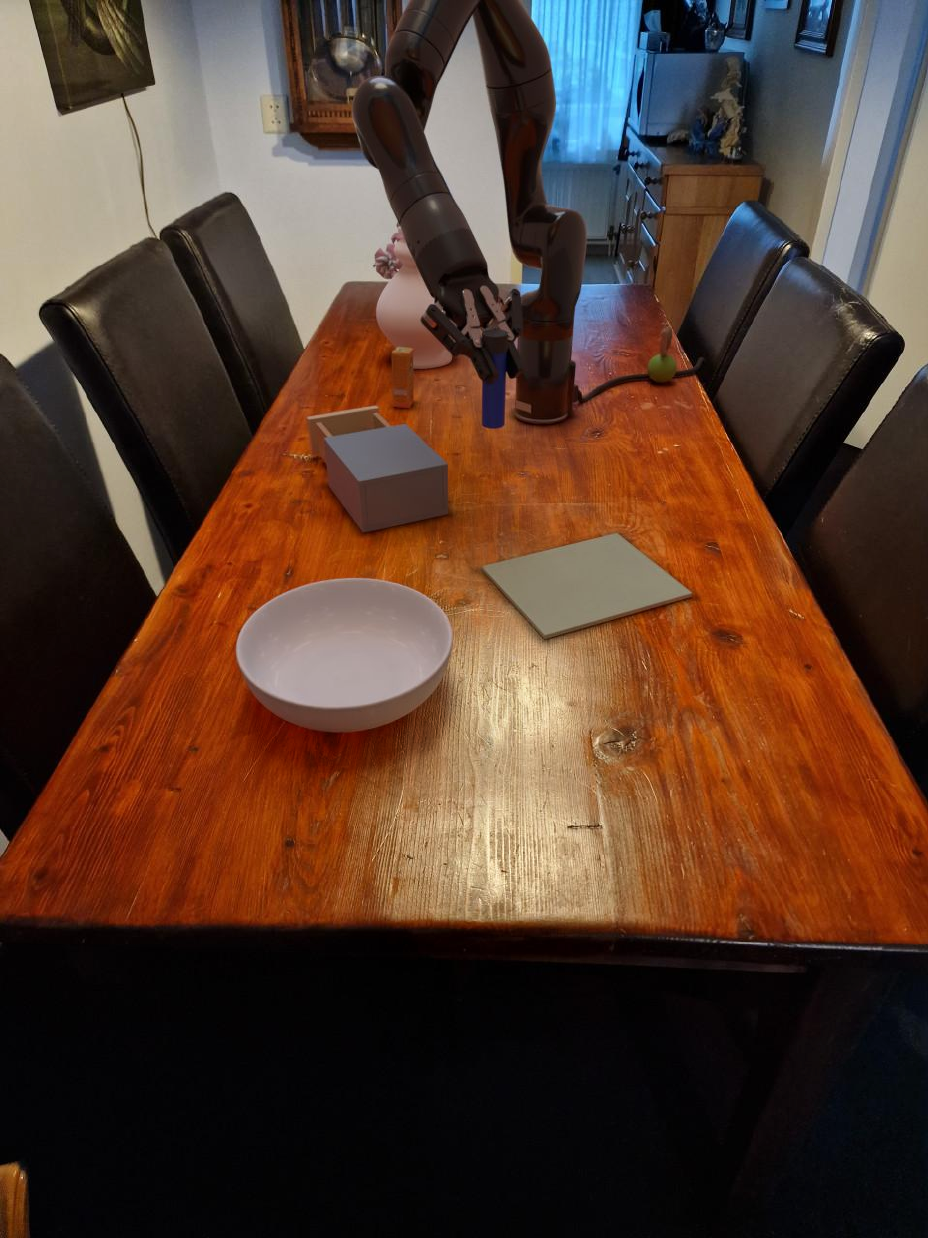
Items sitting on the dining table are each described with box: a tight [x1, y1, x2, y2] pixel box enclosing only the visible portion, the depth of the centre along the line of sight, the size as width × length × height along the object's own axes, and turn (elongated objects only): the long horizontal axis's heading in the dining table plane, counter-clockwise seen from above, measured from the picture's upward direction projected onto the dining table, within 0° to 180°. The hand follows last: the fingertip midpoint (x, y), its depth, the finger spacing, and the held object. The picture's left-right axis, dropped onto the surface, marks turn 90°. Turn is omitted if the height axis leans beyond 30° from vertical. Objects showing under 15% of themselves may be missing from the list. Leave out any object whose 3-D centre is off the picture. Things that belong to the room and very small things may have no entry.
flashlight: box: [481, 329, 508, 430], centre depth 97 cm, size 3×3×11 cm
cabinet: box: [323, 423, 449, 534], centre depth 115 cm, size 16×13×8 cm
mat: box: [481, 532, 693, 640], centre depth 99 cm, size 20×16×1 cm
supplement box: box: [391, 347, 414, 409], centre depth 145 cm, size 3×3×10 cm
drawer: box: [306, 405, 392, 464], centre depth 125 cm, size 19×11×6 cm, turn 25°
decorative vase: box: [375, 226, 454, 370], centre depth 162 cm, size 18×18×25 cm
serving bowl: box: [235, 577, 454, 733], centre depth 81 cm, size 21×21×7 cm
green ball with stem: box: [646, 322, 678, 384], centre depth 154 cm, size 5×6×12 cm
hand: (505, 377), depth 95 cm, fingers closed on flashlight, 3 cm apart
